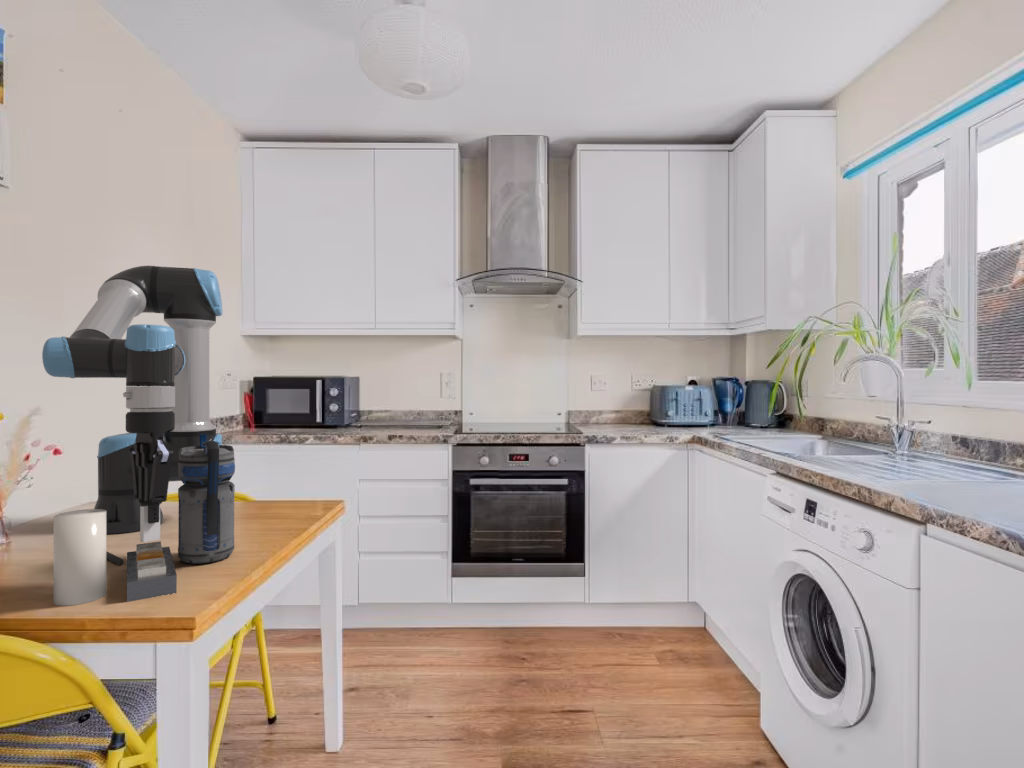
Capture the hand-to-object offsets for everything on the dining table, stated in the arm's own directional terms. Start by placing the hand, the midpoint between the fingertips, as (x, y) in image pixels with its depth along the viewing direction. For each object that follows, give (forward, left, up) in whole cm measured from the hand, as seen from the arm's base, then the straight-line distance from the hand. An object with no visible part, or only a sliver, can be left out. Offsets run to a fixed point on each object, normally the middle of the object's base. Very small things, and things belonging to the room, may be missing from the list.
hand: (150, 539), depth 103 cm
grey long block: (0, 0, -8) cm, 8 cm away
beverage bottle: (-4, +12, -8) cm, 15 cm away
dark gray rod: (-19, 0, -7) cm, 20 cm away
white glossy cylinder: (0, -10, -7) cm, 13 cm away
